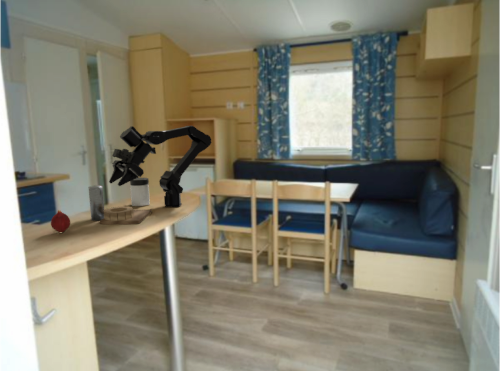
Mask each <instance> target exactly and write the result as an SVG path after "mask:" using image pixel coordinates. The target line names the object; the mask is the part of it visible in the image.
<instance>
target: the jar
mask: <svg viewBox="0 0 500 371" xmlns="http://www.w3.org/2000/svg"><path fill="white" fill-rule="evenodd" d="M149 182H150V181H149V178H148V177H138V178H136V179H134V180H132V181H129V183H130V186H129V187H130V198H131V199H130V202H131V207H144V206H149V205H150V202H151V201H150V199H151V198H150V186H149V184H150V183H149Z"/></svg>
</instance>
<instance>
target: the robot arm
mask: <svg viewBox="0 0 500 371" xmlns="http://www.w3.org/2000/svg"><path fill="white" fill-rule="evenodd" d="M185 136H188V138H189V139H190V140H191V145H190V148H189V149H188V150H187V152H185V154H183V155H182V156H183V157H182V158H181V159H180V160H179V161H178V163H177V164H176V165H175V166H174V168H173V169H172V170H165V171H164V173H163V174H162V175H160V177H159V178H160V179H159V181H158V182H159V187H160V188H161V189H162V191H163V192H164V193H165V194H164V196H163V197H164V199H163V200H164V202H163V203H164V208H179V207H180V208H181V206H182V205H183V203H182V197H181V194H183V191H184V188H183V187H182V185H180V183H181V178H182V176H183V174H184V173H185V171H187V170H188V168H189V167H190V165H191V164H192V163H193V162H194V160H195V159H196V158H197V157H198V156H199V154H200V153H201V152H202V153H203V151H206V149H208V148H209V147H210V146H211V144H212V138H211V136H210V135H209V134H206V133H205V132H203V131H201V130H200V129H198V128H196V126H193V125H186V126H182V127H177V128H176V127H175V128H171V129H168V130H167V129H166V130H149V131H148V130H147V131H146V132H145V134H141V133H140V132H139V131H138V130H137V129H136V127H134V126H130V127H129V128H127V129H126V130H123V132H121V134H120V136H119V137H120V139H121V140H122V141H123V142H124V143H125V144H126V145H127V146H128V147H129V148H133V150H132V151H129V150H128V149H126V148H122V149H118V148H114V150H113V153H112V156H111V157H113V158H117V159H115V160H114V161H113V162H112V167H113V171H112V174H111V176H110V178H109V181H108V183H109V184H113V183H115V182H116V181H118V180H119V181H118V183H117V186H118V187H122V186H124V185H125V184H128V183H130V181H132V180H134V179H136V178H142V176H144V172H145V171H144V169H143V168H142V167H141V164H144V163H145V162H146V161H145V159H146V158H147V157H148V156H149V155H150V154H153V155H156V154H157V151H156V147H152V145H153V146H154V145H155V146H159V145H161V144H163V143H165V142H167V141H169V140H171V139H176V138H180V137H185Z"/></svg>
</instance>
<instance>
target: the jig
mask: <svg viewBox="0 0 500 371" xmlns="http://www.w3.org/2000/svg"><path fill="white" fill-rule="evenodd" d="M151 213H153V211H152V209H148V208H147V209H134V208H133V206H124V205H123V206H113V207H109V208H106V209H105V208H104V219H102V220H99V224H100V225H125V224H126V225H128V224H130V225H131V224H135V225H137V224H141V222H143V221H145V219H146V218H147V217H148V216H149V215H150V214H151Z"/></svg>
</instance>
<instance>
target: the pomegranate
mask: <svg viewBox="0 0 500 371" xmlns="http://www.w3.org/2000/svg"><path fill="white" fill-rule="evenodd" d="M50 225H51V226H50V227H51V228H52V229H53V230H54V231H56V232H58V233H59V232H63V233H64V232H65V231H66V230H68V229H69V228H70V225H71V219H70V217H69V215H67V214H66V213H64V212H63V211H61V210H60V209H57V213H56V214H54V215H53V216H52V218H51V220H50Z"/></svg>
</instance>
